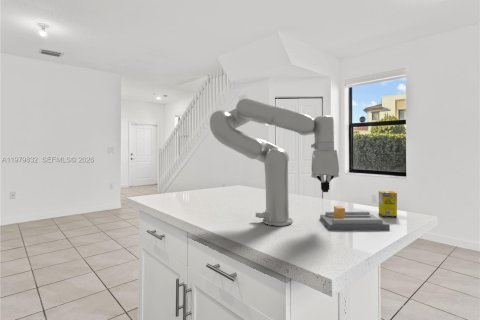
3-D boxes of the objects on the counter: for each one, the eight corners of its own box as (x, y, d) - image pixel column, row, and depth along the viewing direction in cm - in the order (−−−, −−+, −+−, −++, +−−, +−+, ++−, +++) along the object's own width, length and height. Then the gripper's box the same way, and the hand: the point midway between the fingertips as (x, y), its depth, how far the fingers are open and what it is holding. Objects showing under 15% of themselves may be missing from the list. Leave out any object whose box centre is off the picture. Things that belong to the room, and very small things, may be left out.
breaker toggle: (337, 220, 109) (337, 208, 109) (334, 217, 114) (333, 205, 114) (345, 220, 109) (345, 208, 109) (341, 217, 114) (341, 205, 113)
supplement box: (397, 217, 119) (397, 193, 119) (382, 217, 120) (382, 192, 120) (392, 214, 125) (392, 190, 125) (378, 214, 126) (378, 190, 126)
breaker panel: (329, 229, 104) (329, 223, 104) (320, 219, 120) (320, 213, 120) (389, 229, 102) (389, 222, 102) (371, 218, 118) (371, 212, 118)
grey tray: (334, 223, 105) (334, 219, 105) (325, 215, 118) (325, 211, 118) (382, 223, 104) (382, 219, 104) (368, 215, 117) (368, 211, 117)
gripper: (307, 147, 107) (308, 193, 108) (346, 146, 106) (347, 192, 107) (304, 147, 115) (305, 190, 115) (340, 146, 114) (341, 190, 114)
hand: (325, 191), depth 111 cm, fingers closed
